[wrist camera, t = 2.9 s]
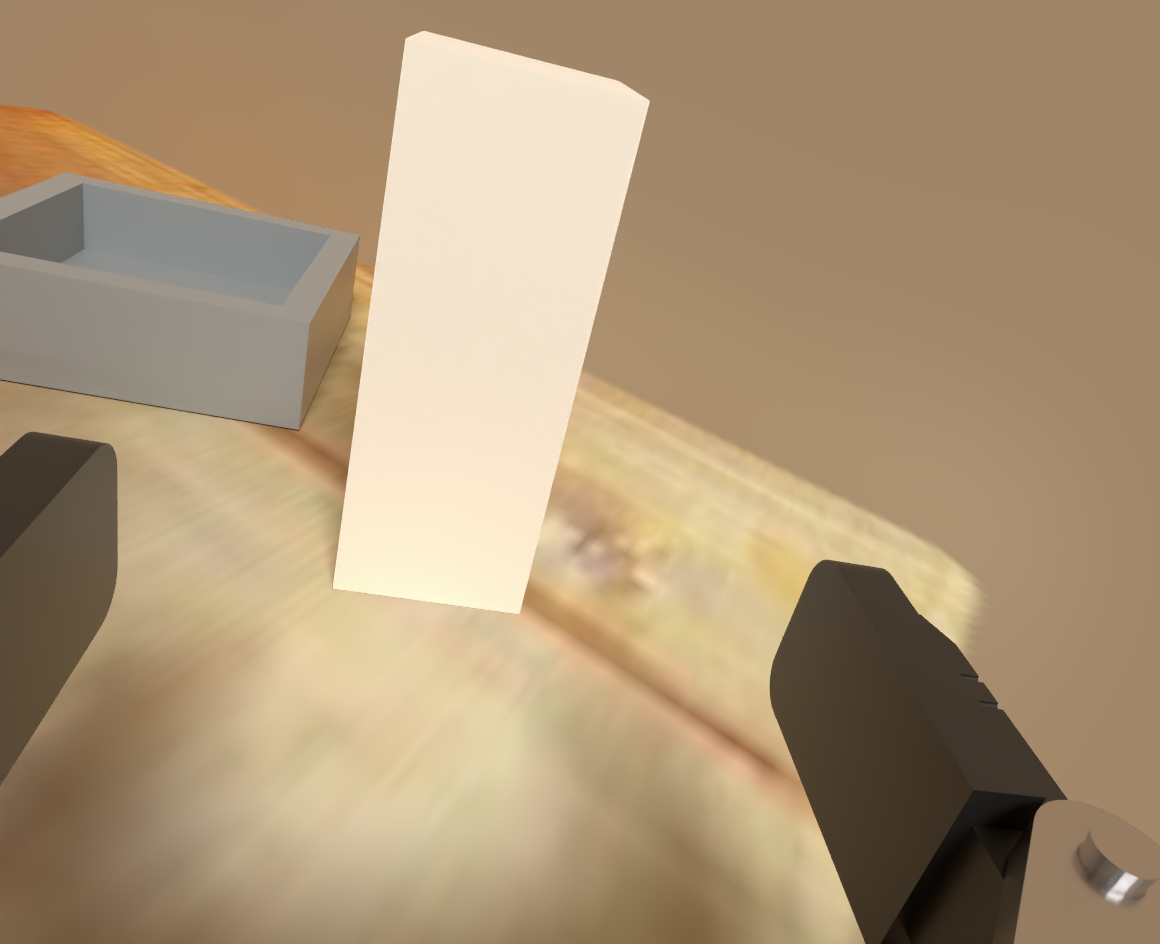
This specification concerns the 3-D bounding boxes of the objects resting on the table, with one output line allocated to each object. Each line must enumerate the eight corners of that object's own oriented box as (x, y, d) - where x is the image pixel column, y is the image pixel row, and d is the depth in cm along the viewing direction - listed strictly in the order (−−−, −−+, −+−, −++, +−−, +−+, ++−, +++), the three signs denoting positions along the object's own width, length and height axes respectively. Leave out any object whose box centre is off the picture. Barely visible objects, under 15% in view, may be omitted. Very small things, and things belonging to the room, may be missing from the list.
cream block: (332, 588, 21) (405, 38, 15) (358, 494, 25) (423, 31, 19) (519, 614, 22) (649, 101, 16) (515, 519, 26) (619, 81, 20)
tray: (-97, 362, 25) (-111, 242, 24) (67, 262, 35) (65, 172, 33) (298, 429, 27) (309, 323, 26) (350, 317, 37) (360, 234, 35)
